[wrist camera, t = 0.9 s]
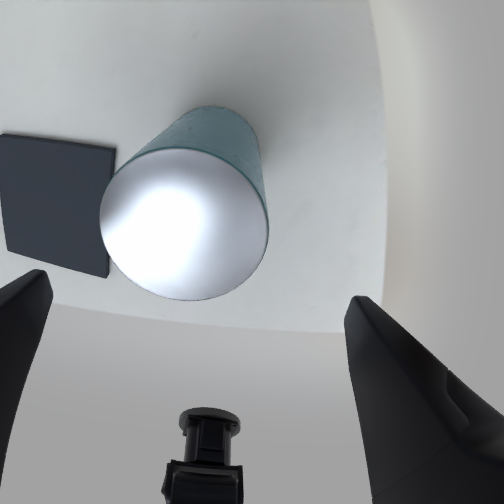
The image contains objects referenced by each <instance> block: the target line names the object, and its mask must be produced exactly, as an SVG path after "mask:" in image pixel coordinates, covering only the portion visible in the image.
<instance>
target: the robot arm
mask: <svg viewBox="0 0 504 504" xmlns="http://www.w3.org/2000/svg"><path fill="white" fill-rule="evenodd" d="M52 300H53V290H52V287H51V284H50V281H49V278H48V275H47V273H46V272H45V271H44V270H38V269H34V270H32V271H30V272H28V273H26V274H24V275H23V276H21V277H19V278H18V279H16V280H14V281H12V282H11V283H9V284H7V285H6V286H4V287H2V288H1V289H0V485H1V479H2V473H3V468H4V462H5V457H6V455H5V454H6V452H7V447H8V443H9V438H10V434H11V430H12V426H13V422H14V419H15V415H16V411H17V408H18V404H19V401H20V398H21V394H22V391H23V388H24V385H25V382H26V379H27V375H28V373H29V370H30V367H31V364H32V361H33V358H34V356H35V353H36V350H37V348H38V345H39V342H40V339H41V336H42V333H43V329H44V326H45V322H46V319H47V316H48V312H49V309H50V306H51V303H52ZM344 328H345V336H346V346H347V355H348V364H349V372H350V377H351V382H352V386H353V391H354V396H355V401H356V406H357V411H358V416H359V421H360V427H361V432H362V438H363V444H364V449H365V454H366V461H367V467H368V474H369V480H370V487H371V494H372V502H373V504H504V416H503V415H502V414H500V413H499V412H498V411H497V410H495V409H494V408H493V407H492V406H490V405H489V404H488V403H486V402H485V401H484V400H483V399H482V398H481V397H479V396H478V395H477V394H476V393H475V392H473V391H472V390H471V389H470V388H469V387H468V386H467V385H465V384H464V383H463V382H462V381H461V380H460V379H459V378H458V377H456V375H454V374H453V373H452V372H451V371H450V370H448V368H447V367H446V366H445V365H443V363H441V362H440V361H439V360H438V359H437V358H436V357H435V356H434V355H433V354H432V353H431V352H430V351H428V350H427V349H426V348H425V347H424V346H423V345H422V344H421V343H420V342H419V341H417V340H416V339H415V338H414V337H413V336H412V335H411V334H410V333H409V332H407V331H406V330H405V329H404V328H403V327H402V326H401V325H400V324H398V323H397V322H396V321H395V320H394V319H393V318H392V317H390V316H389V315H388V314H387V313H386V312H385V311H383V310H382V309H381V308H380V307H379V306H378V305H377V304H376V303H374V302H373V301H372V300H371V299H370V298H369V297H367V296H354V297H353V298H352V299H351V302H350V304H349V307H348V310H347V312H346V315H345V318H344ZM238 423H239V422H237V421H231V420H224V419H217V418H210V417H204V416H198V415H192V414H188V415H187V417H186V421H185V425H184V430H183V436H187V437H186V446H185V456H184V462H182V461H176V460H171V463H167V470H166V475H165V479H164V483H163V486H162V490H161V493H162V494H163V495H164V496H165V500H166V504H243V497H244V496H243V495H244V493H243V469H242V466H241V465H238V466H230V458H231V455H230V454H231V438H232V436H233V434H234V432H235V431H236V429H237V427H238Z"/></svg>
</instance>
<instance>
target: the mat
mask: <svg viewBox="0 0 504 504" xmlns="http://www.w3.org/2000/svg"><path fill="white" fill-rule="evenodd" d="M115 151H116V149H111V148H105V147H99V146H93V145H86V144H80V143H73V142H66V141H58V140H51V139H43V138H34V137H25V136H16V135H6V134H2V135H0V199H1V209H2V218H3V225H4V232H5V239H6V245H7V250H8V251H10V252H13V253H17V254H20V255H23V256H26V257H30V258H33V259H36V260H40V261H43V262H47V263H50V264H54V265H57V266H61V267H64V268H68V269H72V270H75V271H79V272H83V273H86V274H90V275H94V276H98V277H102V278H107V276H108V275H109V254H108V252H107V249H106V247H105V245H104V242H103V239H102V235H101V230H100V219H99V214H100V205H101V201H102V197H103V194H104V191H105V189H106V187H107V185H108V183H109V181H110V180H111V178H112V177H113V170H114V160H115Z"/></svg>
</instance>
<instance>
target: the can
mask: <svg viewBox="0 0 504 504" xmlns="http://www.w3.org/2000/svg"><path fill="white" fill-rule="evenodd" d="M99 219H100V230H101V235H102V239H103V242H104V245H105V247H106V249H107V252H108V254H109V255H110V257H111V259H112V260H113V262H114V263H115V264H116V266H117V267H118V268H119V269H120V271H121V272H122V273H123V274H124V275H125V276H126V277H128V278H129V279H130V280H131V281H133V282H134V283H135V284H137V285H138V286H140V287H141V288H143V289H145V290H147V291H149V292H151V293H154V294H156V295H159V296H162V297H165V298H169V299H175V300H182V301H199V300H206V299H211V298H215V297H218V296H221V295H223V294H226V293H228V292H230V291H232V290H233V289H235V288H236V287H238V286H239V285H241V284H242V283H243V282H244V281H246V280H247V279H248V278H249V277H250V276H251V275H252V273H253V272H254V271H255V270H256V269H257V267H258V265H259V264H260V262H261V260H262V258H263V256H264V254H265V251H266V247H267V244H268V237H269V220H268V212H267V205H266V197H265V190H264V182H263V175H262V168H261V160H260V153H259V146H258V141H257V138H256V135H255V133H254V131H253V129H252V127H251V126H250V125H249V123H248V122H247V121H246V120H245V119H244V118H243V117H241V116H240V115H239V114H237V113H235V112H234V111H231V110H229V109H226V108H222V107H215V106H209V107H202V108H197V109H195V110H192V111H190V112H188V113H187V114H185V115H184V116H182V117H181V118H180V119H178V120H177V121H176V122H174V123H173V124H172V125H171V126H169V127H168V128H167V129H166V130H164V131H163V132H162V133H161V134H159V135H158V136H157V137H156V138H154V139H153V140H152V141H151V142H150V143H148V144H147V145H146V146H145V147H144V148H142V149H141V150H140V151H139V152H138V153H136V154H135V155H134V156H133V157H132V158H131V159H130V160H128V161H127V162H126V163H125V164H124V165H123V166H122V167H121V168H119V170H118V171H117V172H116V173H115V174H114V175H113V177H112V178H111V180H110V181H109V183H108V185H107V187H106V189H105V191H104V194H103V197H102V201H101V205H100V214H99Z"/></svg>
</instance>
